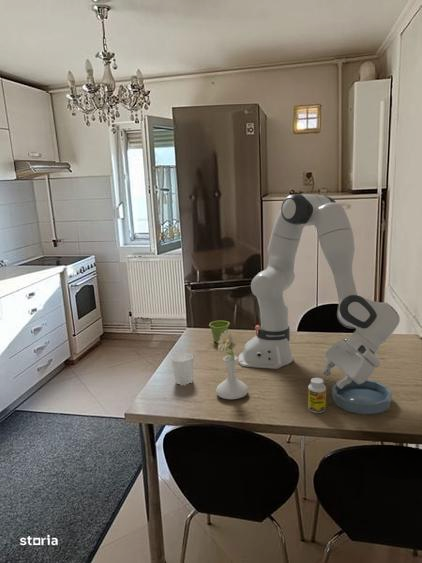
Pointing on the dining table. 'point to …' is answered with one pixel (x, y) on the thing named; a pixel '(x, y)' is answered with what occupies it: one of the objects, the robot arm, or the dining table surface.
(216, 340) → the plant pot
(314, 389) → the supplement bottle
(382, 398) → the slate dish
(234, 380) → the flower in vase
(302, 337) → the dining table surface
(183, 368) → the white cup
